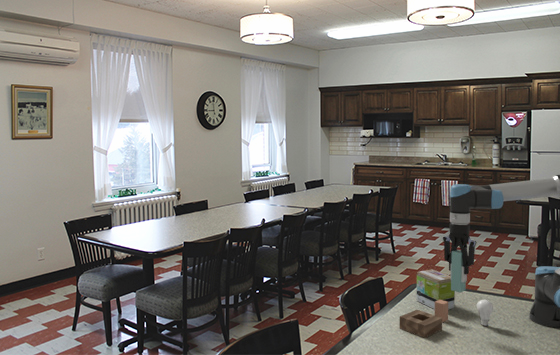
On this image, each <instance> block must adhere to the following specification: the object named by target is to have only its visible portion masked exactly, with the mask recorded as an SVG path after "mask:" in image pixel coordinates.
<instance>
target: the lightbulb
mask: <svg viewBox="0 0 560 355" xmlns="http://www.w3.org/2000/svg"><path fill="white" fill-rule="evenodd" d="M476 310H477V312H478V314H479V316H480V320H481V321H480V325H482V326H483V327H487V326H489V320H490V319H489V318H490V316H491V315H492V314H493V311H494V304H493V303H492V302H491V301H490V300H489V299H485V298H484V299H480V300H478V302H477V303H476Z"/></svg>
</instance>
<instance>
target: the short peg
mask: <svg viewBox="0 0 560 355" xmlns="http://www.w3.org/2000/svg"><path fill="white" fill-rule="evenodd" d="M434 315H435V316H438V317H441V318H442V323H445V322H447V321H449V309H448V302H447V301H443V300H438V301H435V309H434Z"/></svg>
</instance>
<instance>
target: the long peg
mask: <svg viewBox="0 0 560 355" xmlns="http://www.w3.org/2000/svg"><path fill="white" fill-rule="evenodd" d="M462 265H463V259H462V253H461V249H460V250H459V249H457V250H456V251H452V264H451V271H450V275H451V290H452V291H455V293H456V292H457V293H463V292H465V291H466V286H467V285H466V282H467V281H466V282H463V283H462V282H461V272H462Z"/></svg>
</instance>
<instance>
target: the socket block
mask: <svg viewBox="0 0 560 355" xmlns="http://www.w3.org/2000/svg"><path fill="white" fill-rule="evenodd" d="M399 329H401V330H403V331H405V332H408V333H411V334H413V335H416V336H418V337H421V338H424V339H425V338H428V337H430V336H432V335H434V334H437V333H438V332H441V331H442V330H443V322H442V318H441V317H438V316H435V314H432V313H428V312H425V311H423V310H420V309H415V310H412V311H411V312H407V313H405V314H403V315H400V316H399Z"/></svg>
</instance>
